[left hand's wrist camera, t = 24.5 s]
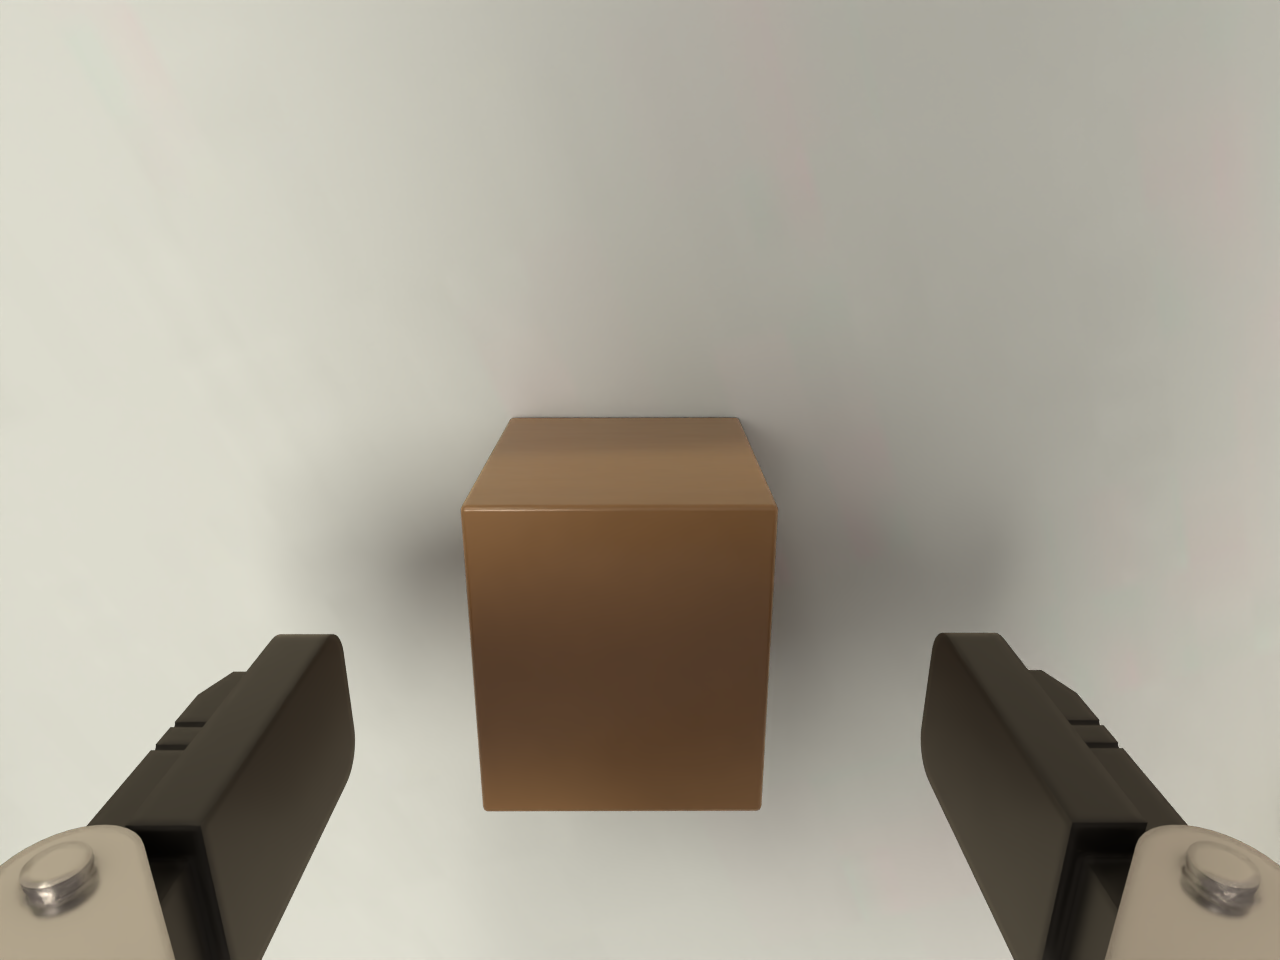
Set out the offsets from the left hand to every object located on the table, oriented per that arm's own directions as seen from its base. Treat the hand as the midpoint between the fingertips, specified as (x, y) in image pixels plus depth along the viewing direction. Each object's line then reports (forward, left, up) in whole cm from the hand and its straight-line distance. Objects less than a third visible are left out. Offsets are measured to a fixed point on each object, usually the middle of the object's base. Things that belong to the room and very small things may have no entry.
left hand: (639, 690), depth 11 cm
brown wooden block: (0, 0, -6) cm, 6 cm away
